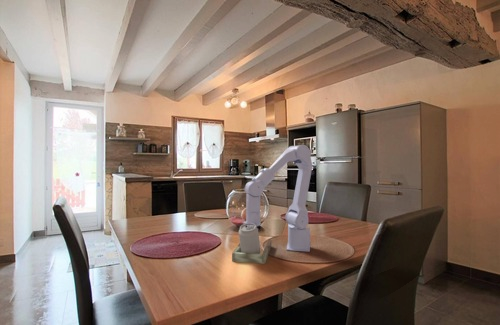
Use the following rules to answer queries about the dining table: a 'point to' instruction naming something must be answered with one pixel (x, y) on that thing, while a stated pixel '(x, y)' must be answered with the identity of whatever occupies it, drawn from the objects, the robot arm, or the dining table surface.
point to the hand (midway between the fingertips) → (253, 245)
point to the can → (249, 239)
